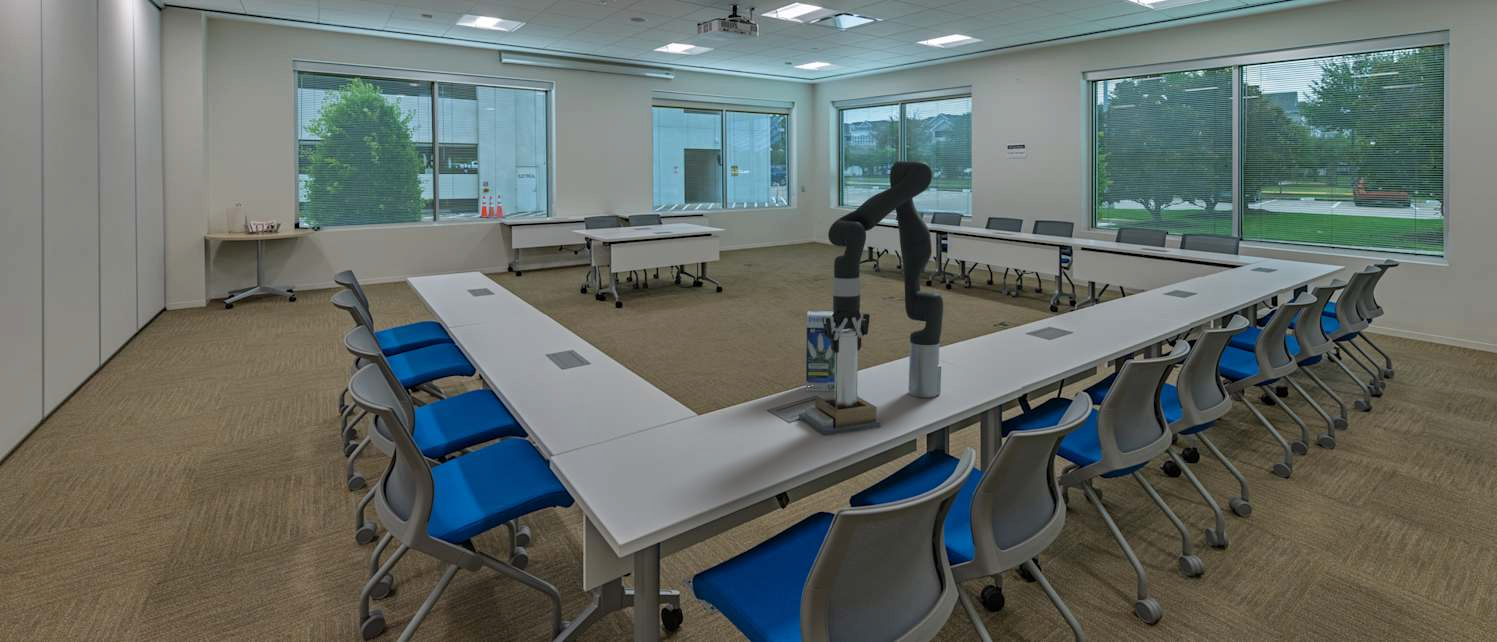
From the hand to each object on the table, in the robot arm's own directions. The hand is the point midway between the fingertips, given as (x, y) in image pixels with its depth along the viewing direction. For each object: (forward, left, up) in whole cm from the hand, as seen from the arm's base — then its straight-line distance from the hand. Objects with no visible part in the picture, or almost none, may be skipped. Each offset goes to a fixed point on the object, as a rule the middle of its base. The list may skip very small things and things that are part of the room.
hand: (846, 351), depth 208 cm
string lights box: (-10, -32, -21) cm, 40 cm away
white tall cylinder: (0, 0, -19) cm, 19 cm away
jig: (+2, 0, -21) cm, 21 cm away
